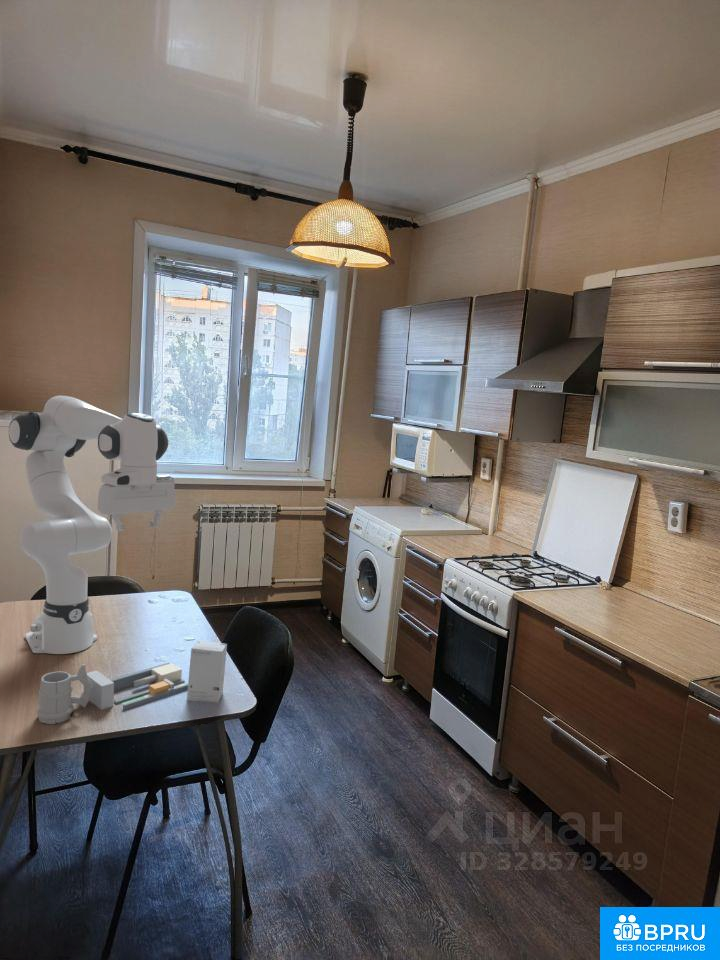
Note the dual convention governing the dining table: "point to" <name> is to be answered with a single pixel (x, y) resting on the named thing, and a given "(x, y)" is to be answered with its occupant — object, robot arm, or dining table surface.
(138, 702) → the base
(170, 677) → the cream block with rods
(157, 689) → the orange rectangular block
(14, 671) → the dining table surface
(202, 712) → the dining table surface
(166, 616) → the dining table surface
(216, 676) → the skincare box
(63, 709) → the mug
